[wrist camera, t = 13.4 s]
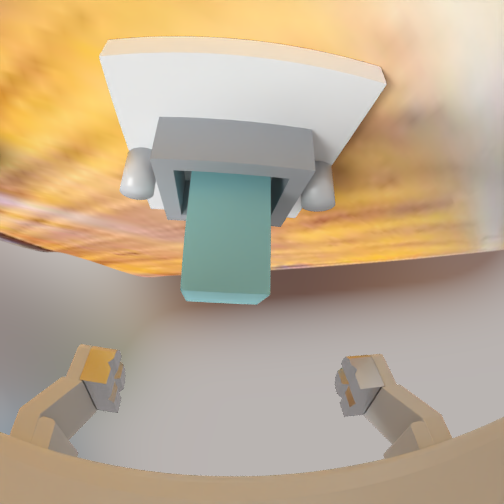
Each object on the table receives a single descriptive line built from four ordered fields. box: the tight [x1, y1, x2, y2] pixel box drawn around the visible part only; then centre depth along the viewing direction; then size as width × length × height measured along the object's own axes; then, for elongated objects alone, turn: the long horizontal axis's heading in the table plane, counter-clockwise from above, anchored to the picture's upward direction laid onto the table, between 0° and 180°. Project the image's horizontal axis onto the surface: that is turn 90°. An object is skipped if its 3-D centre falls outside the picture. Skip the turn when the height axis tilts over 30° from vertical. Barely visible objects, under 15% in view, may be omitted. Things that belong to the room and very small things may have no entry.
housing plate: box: [99, 36, 387, 227], centre depth 18 cm, size 16×12×4 cm
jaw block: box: [180, 171, 271, 304], centre depth 17 cm, size 4×4×8 cm
